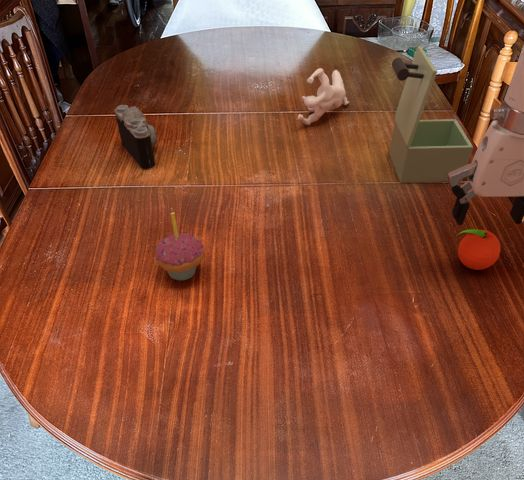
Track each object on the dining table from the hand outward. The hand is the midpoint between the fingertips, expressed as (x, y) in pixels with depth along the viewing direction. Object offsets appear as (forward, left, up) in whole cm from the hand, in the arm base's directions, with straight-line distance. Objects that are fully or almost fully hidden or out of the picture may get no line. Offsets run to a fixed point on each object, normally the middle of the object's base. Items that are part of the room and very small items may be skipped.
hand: (486, 219), depth 85 cm
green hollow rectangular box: (0, -34, -10) cm, 35 cm away
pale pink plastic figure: (+20, -60, -10) cm, 64 cm away
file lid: (+5, -34, +6) cm, 35 cm away
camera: (+64, -43, -10) cm, 78 cm away
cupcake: (+52, 0, -10) cm, 53 cm away
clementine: (0, 0, -10) cm, 10 cm away
